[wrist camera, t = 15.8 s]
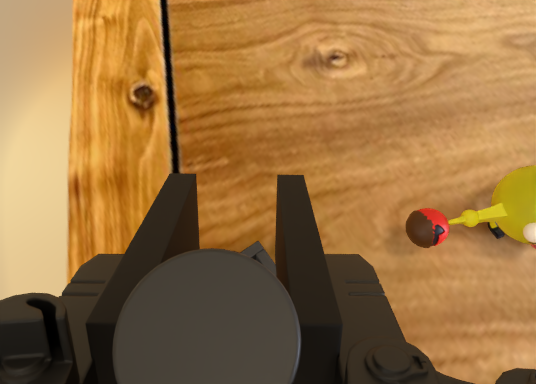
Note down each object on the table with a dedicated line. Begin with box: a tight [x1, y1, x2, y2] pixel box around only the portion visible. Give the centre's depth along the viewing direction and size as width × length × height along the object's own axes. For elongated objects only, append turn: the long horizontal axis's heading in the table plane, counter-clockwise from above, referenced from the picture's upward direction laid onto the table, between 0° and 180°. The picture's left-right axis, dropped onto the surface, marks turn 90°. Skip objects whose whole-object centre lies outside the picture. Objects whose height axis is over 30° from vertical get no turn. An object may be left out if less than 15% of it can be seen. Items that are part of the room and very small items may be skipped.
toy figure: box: [406, 165, 536, 249], centre depth 29 cm, size 18×6×7 cm, turn 103°
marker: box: [112, 248, 301, 384], centre depth 13 cm, size 2×2×17 cm
